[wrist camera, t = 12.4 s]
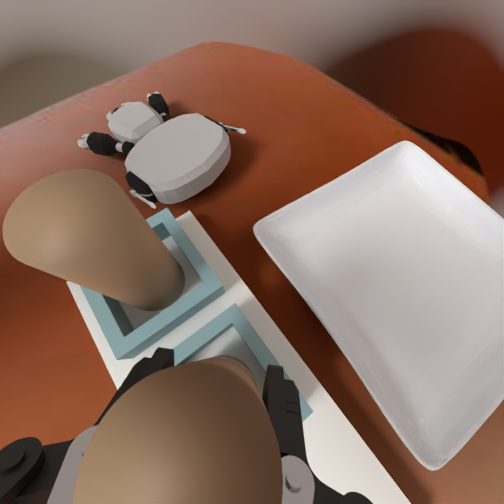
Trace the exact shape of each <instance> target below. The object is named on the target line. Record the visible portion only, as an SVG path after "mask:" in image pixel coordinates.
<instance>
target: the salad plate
mask: <svg viewBox="0 0 504 504" xmlns="http://www.w3.org/2000/svg"><path fill="white" fill-rule="evenodd" d="M253 232H254V235H255V237H256V238H257V240H258V241H259V243H260V244H261V245H262V247H263V248H264V250H265V251H266V252H267V254H268V255H269V256H270V257H271V259H272V260H273V261H274V262H275V264H276V265H277V266H278V267H279V269H280V270H281V271H282V272H283V274H284V275H285V276H286V277H287V279H288V280H289V281H290V282H291V284H292V285H293V286H294V287H295V289H296V290H297V291H298V292H299V294H300V295H301V296H302V298H303V299H304V300H305V302H306V303H307V304H308V306H309V307H310V308H311V310H312V311H313V312H314V313H315V315H316V316H317V318H318V319H319V320H320V322H321V323H322V325H323V326H324V327H325V329H326V330H327V331H328V333H329V334H330V335H331V337H332V338H333V340H334V341H335V342H336V344H337V345H338V347H339V348H340V349H341V351H342V352H343V354H344V355H345V357H346V358H347V359H348V361H349V362H350V364H351V365H352V367H353V368H354V370H355V371H356V373H357V374H358V376H359V377H360V379H361V380H362V382H363V383H364V385H365V386H366V388H367V390H368V391H369V393H370V394H371V396H372V397H373V399H374V400H375V402H376V403H377V405H378V407H379V408H380V410H381V411H382V413H383V414H384V416H385V417H386V419H387V420H388V422H389V423H390V424H391V426H392V427H393V429H394V430H395V432H396V433H397V434H398V436H399V437H400V439H401V440H402V441H403V443H404V444H405V445H406V447H407V448H408V449H409V451H410V452H411V453H412V454H413V456H414V457H415V458H416V459H417V460H418V461H419V462H420V463H421V464H422V465H423V466H424V467H426V468H427V469H429V470H431V471H435V470H438V469H440V468H441V467H443V466H444V465H445V464H446V463H447V462H448V461H449V460H450V459H451V458H453V457H454V456H455V455H456V454H457V453H458V452H459V451H460V449H461V448H462V447H463V446H464V445H465V444H466V443H467V442H468V441H469V440H470V438H471V437H472V436H473V435H474V434H475V433H476V431H477V430H478V429H479V428H480V427H481V426H482V424H483V423H484V422H485V421H486V420H487V419H488V417H489V416H490V415H491V414H492V413H493V412H494V410H495V409H496V408H497V407H498V406H499V404H500V403H501V402H502V401H503V400H504V219H503V218H502V217H501V216H500V215H499V214H497V213H496V212H495V211H494V210H493V209H492V208H490V207H489V206H488V205H487V204H486V203H485V202H483V201H482V200H481V199H480V198H479V197H477V196H476V195H475V194H474V193H473V192H472V191H470V190H469V189H468V188H467V187H466V186H465V185H463V184H462V183H461V182H460V181H459V180H458V179H456V178H455V177H454V176H453V175H452V174H450V173H449V172H448V171H447V170H446V169H445V168H443V167H442V166H441V165H440V164H439V163H438V162H436V161H435V160H434V159H433V158H432V157H431V156H429V155H428V154H427V153H426V152H425V151H423V150H422V149H421V148H419V147H418V146H417V145H415V144H413V143H412V142H409V141H402V142H399V143H397V144H395V145H393V146H391V147H389V148H387V149H386V150H384V151H382V152H381V153H379V154H377V155H376V156H374V157H372V158H371V159H369V160H367V161H366V162H364V163H362V164H361V165H359V166H357V167H355V168H354V169H352V170H350V171H349V172H347V173H345V174H343V175H342V176H340V177H338V178H336V179H334V180H333V181H331V182H329V183H327V184H325V185H323V186H322V187H320V188H318V189H316V190H314V191H313V192H311V193H309V194H307V195H305V196H303V197H301V198H299V199H298V200H296V201H294V202H292V203H290V204H288V205H286V206H284V207H282V208H280V209H279V210H277V211H275V212H273V213H271V214H269V215H268V216H266V217H264V218H262V219H261V220H259V221H258V222H257V223H255V224H254V226H253Z"/></svg>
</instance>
